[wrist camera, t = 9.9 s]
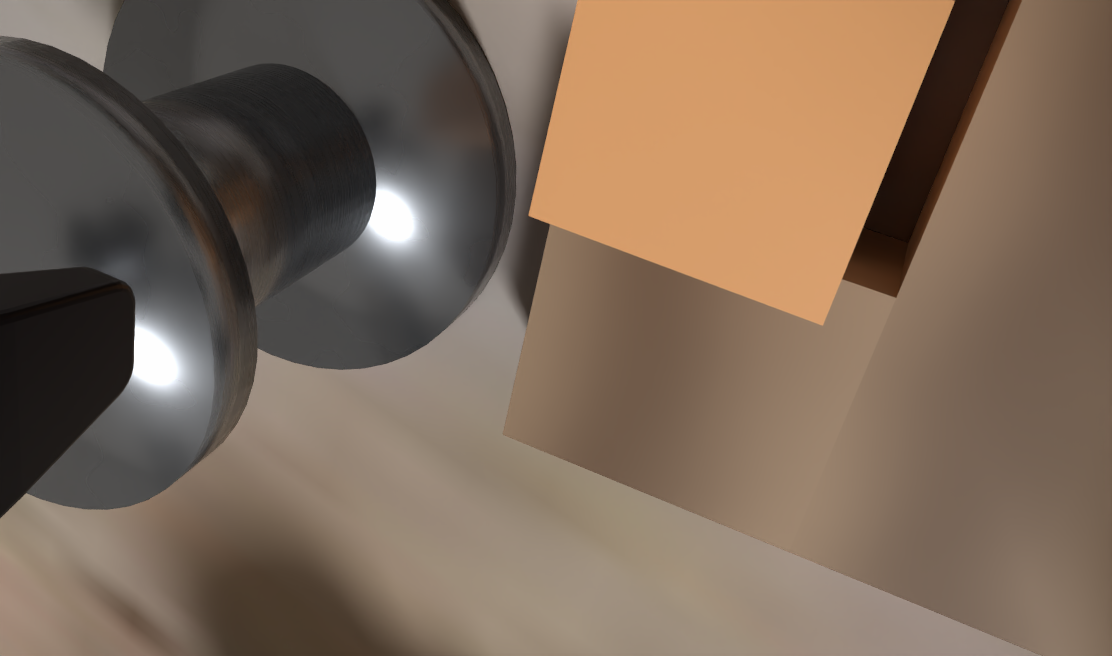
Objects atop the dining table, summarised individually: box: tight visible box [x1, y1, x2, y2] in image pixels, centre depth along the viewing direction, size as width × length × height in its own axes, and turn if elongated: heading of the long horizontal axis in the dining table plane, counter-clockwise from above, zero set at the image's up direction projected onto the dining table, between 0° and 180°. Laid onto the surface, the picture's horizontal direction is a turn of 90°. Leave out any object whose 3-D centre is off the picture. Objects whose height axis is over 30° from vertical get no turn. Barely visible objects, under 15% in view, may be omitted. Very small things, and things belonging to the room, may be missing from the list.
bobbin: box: [0, 0, 516, 509], centre depth 18 cm, size 9×9×8 cm
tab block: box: [528, 0, 955, 326], centre depth 15 cm, size 4×4×6 cm
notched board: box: [503, 0, 1112, 656], centre depth 16 cm, size 11×16×2 cm
